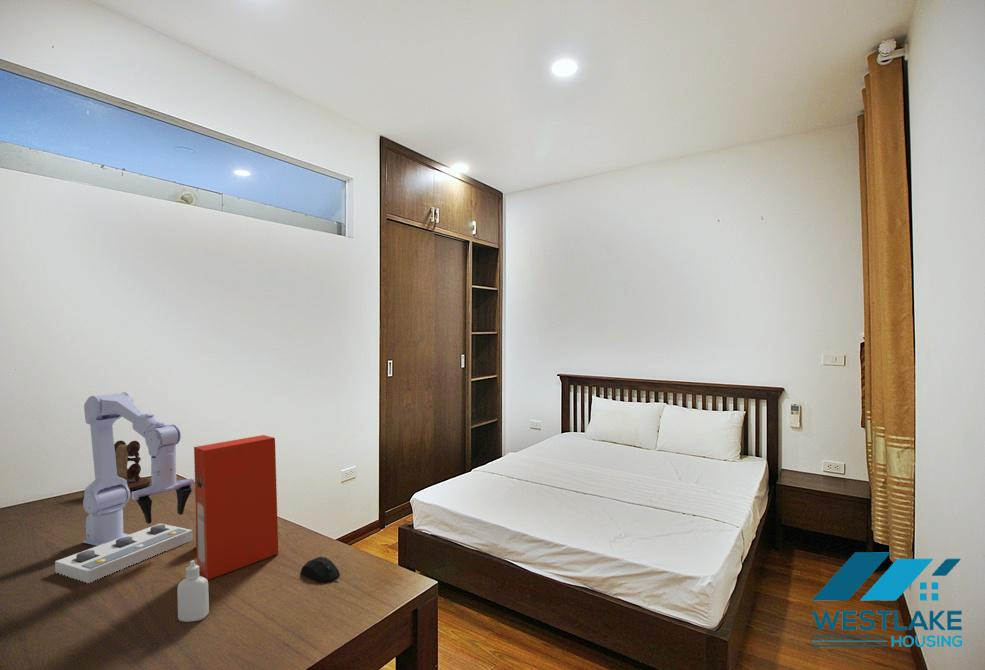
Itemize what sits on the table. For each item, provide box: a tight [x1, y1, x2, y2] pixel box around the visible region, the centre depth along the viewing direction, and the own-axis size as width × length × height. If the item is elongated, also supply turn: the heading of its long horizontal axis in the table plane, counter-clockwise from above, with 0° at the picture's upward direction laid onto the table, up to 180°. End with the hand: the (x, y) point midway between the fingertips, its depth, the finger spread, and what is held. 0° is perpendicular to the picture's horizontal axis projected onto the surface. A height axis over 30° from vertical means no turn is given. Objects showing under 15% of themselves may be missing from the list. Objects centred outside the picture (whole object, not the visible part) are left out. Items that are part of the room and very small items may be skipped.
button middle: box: [116, 536, 132, 548], centre depth 131 cm, size 4×4×2 cm
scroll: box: [104, 440, 151, 491], centre depth 189 cm, size 15×15×20 cm
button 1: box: [76, 549, 95, 563], centre depth 122 cm, size 4×4×2 cm
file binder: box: [193, 434, 279, 580], centre depth 124 cm, size 8×17×32 cm, turn 139°
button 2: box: [150, 523, 165, 535], centre depth 139 cm, size 4×4×2 cm
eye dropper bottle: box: [176, 560, 210, 623], centre depth 99 cm, size 4×6×12 cm
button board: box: [54, 523, 194, 584], centre depth 130 cm, size 15×26×3 cm, turn 157°
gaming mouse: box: [300, 556, 341, 584], centre depth 116 cm, size 6×15×4 cm, turn 52°
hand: (164, 518), depth 131 cm, fingers open, 7 cm apart
